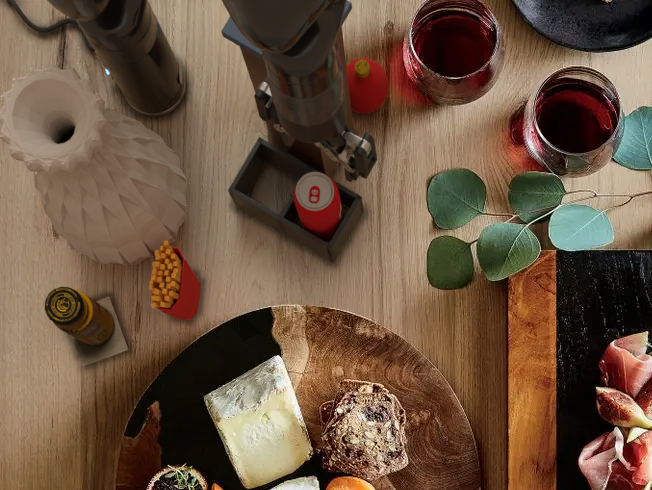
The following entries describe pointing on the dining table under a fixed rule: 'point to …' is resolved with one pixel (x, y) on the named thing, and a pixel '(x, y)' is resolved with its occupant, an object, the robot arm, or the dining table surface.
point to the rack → (291, 200)
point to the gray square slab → (236, 37)
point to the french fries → (174, 284)
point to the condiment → (86, 323)
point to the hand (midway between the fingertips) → (322, 156)
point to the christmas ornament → (366, 85)
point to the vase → (94, 167)
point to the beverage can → (318, 205)
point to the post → (298, 149)
